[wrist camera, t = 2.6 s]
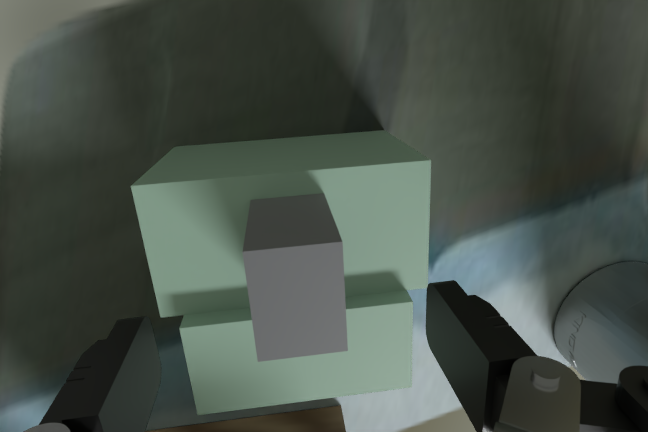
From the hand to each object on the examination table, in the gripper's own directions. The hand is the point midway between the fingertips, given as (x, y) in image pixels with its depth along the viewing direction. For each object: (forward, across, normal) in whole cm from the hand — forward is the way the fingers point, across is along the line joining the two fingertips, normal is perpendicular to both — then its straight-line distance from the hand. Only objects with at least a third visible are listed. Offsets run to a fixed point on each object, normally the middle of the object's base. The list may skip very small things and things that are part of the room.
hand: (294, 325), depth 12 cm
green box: (+14, 0, +2) cm, 14 cm away
